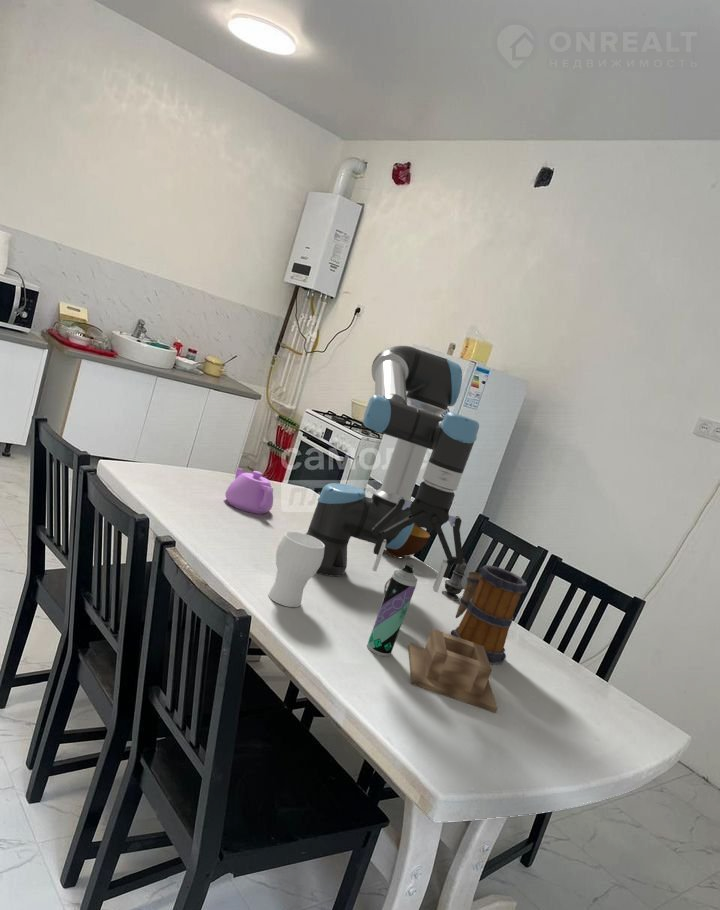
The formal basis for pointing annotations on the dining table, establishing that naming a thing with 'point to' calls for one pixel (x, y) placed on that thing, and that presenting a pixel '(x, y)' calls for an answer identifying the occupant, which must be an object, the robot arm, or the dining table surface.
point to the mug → (489, 609)
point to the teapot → (250, 492)
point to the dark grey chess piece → (455, 582)
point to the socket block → (453, 669)
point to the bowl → (411, 543)
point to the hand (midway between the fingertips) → (404, 579)
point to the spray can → (392, 611)
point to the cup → (295, 566)
